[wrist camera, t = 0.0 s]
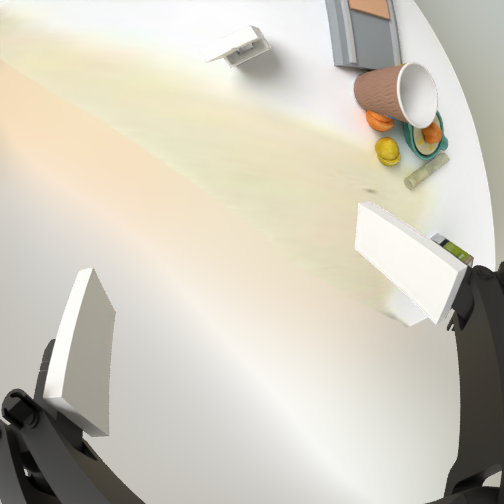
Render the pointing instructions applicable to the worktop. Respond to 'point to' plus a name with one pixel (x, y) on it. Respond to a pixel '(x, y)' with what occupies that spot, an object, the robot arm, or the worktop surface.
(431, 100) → the coffee cup
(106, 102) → the worktop surface
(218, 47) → the white wedge bracket
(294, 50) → the worktop surface
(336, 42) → the socket board
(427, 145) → the toy juicer set
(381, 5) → the shutter
